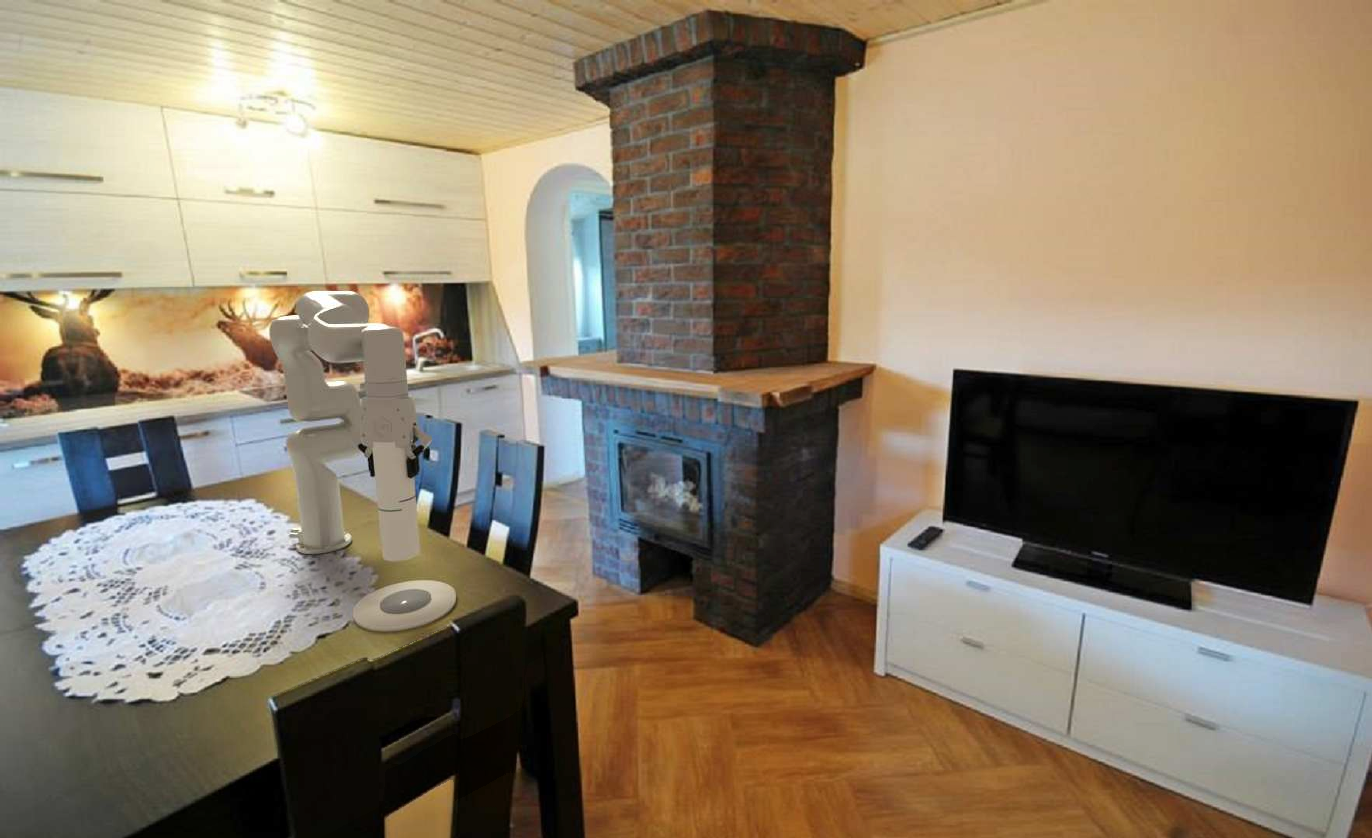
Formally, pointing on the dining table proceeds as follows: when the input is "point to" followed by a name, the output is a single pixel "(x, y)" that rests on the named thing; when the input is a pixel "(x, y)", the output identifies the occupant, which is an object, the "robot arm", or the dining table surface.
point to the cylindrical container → (395, 503)
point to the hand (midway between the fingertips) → (394, 475)
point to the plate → (404, 605)
